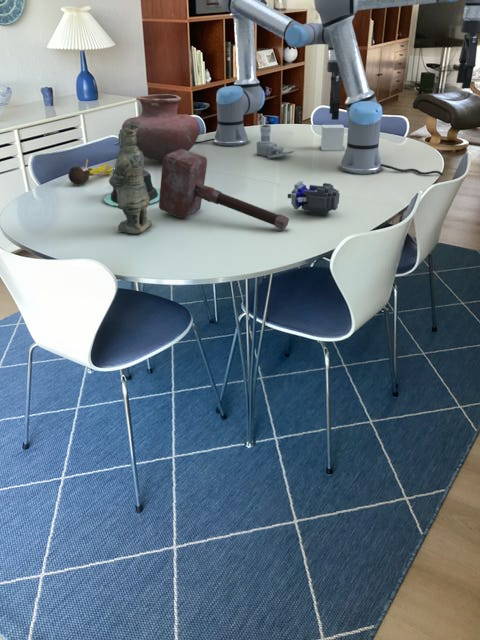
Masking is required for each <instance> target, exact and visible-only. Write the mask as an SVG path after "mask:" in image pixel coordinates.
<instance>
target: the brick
mask: <svg viewBox="0 0 480 640" xmlns="http://www.w3.org/2000/svg"><path fill="white" fill-rule="evenodd" d="M344 135H345V126H344V124H322V125H321V139H320V149H321V151H343V149H344Z"/></svg>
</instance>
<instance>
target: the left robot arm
mask: <svg viewBox="0 0 480 640" xmlns="http://www.w3.org/2000/svg"><path fill="white" fill-rule="evenodd" d="M216 1H217V3H218V5H219V6H220V7H221V8H223V9H224V10H226V11H227V12H229V15H230V17H232V19H233V25H234V26H233V28H234V45H235V47H234V48H235V62H236V63H235V64H236V80H235V81H234V82H233V85H229V86H224V87H221V88H219V89H218V90H217V91H216V99H215V100H216V102H215V103H216V119H217V120H216V121H217V127H216V131H215V134H214V138H209V139H206V140H201V141H196V142H195V144H203V143H208V142H211V141H213V142H214V144H215V145H217V146H220V147H238V146H244V145H246V144H247V143H248V138H249V137H248V134H247V131H246V129H245V125H244V116H247V115H249V114H254V113H257V112H258V111H260V110H261V109H262V108H263V106H264V104H265V101H266V96H265V91H264V89H263V88H262V86H261V83H260V81H259V79H258V78H257V69H256V67H257V66H256V64H257V63H256V43H255V42H256V41H255V39H256V38H255V24H256V25H258V26H259V27H261V28H263V29H265V30H267V31H268V32H271V33H273V34H274V35H275V36H278V37H279V38H281V39H283V40H285V42H286V44H287V45H288V46H289V47H291V48H297V49H298V48H302V47H308V46H314V45H327V47H328V48H327V61H328V62H327V65H326V71H327V72H328V73H331V76H330V93H329V94H330V98H329V99H330V100H329V101H330V102H329V114H330V115H331V120H332V121H333V120H334V121H337V120H339V115H340V102H341V85H342V84H341V83H342V77H341V74H340V70H339V67H338V63H337V59H336V56H335V52H334V49H333V45H332V42H331V38H330V35H329V32H328V31H326V30H325V29H323V26H322V22H321V23H320V22H319V23H318V22H317V23H316V22H309V23H304V24H302V23H300V22H298V21H297V20H294V19H293V18H291V17H289V16H287V15H285V14H284V13H282V12H280V11H278V10H277V9H275V8H273V7H271V6H269V5H267V4H265V3H264V2H262V0H216Z"/></svg>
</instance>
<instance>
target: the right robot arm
mask: <svg viewBox="0 0 480 640" xmlns="http://www.w3.org/2000/svg"><path fill="white" fill-rule="evenodd" d="M313 2H314V8H315V10H316V12H317V14H318V16H319V19H320V22H321V23H322V26H323V29H325V30H326V31H328V32H329V35H330V38H331V42H332V45H333V49H334V52H335V56H336V59H337V63H338V67H339V70H340V76H341V82H342V85H343V89H344V91H345V94H346V99H345V101H344V106H345V111H346V113H347V117H348V126H347V138H346V139H347V140H346V149H345V151H344V154H343V156H342V158H341V162H340V170H341V171H343V172H345V173H349V174H355V175H356V174H357V175H369V174H370V175H371V174H376V173H378V172H380V171H382V167H383V168H387V169H391V170H394V171H397V172H401V173H402V172H403V173H404V172H405V173H406V172H415V173H417V174H419V175H424V176H426V175H431V174H438V175H440V176H442V177H443V176H444V174H443V172H441V171H439V170H430V171H424V172H423V171H421V170H419V169H417V168H398V167H395V166H392V165H388V164H383V163H382V161H381V155H380V150H379V147H380V145H379V144H380V138H381V137H380V136H381V127H382V117H383V107H382V105H381V104H380V103H378V101H377V97H376V93H375V91H374V90H372V89H370V87H369V83H368V79H367V75H366V72H365V67H364V64H363V60H362V55H361V53H360V52H361V51H360V48H359V46H358V45H359V44H358V41H357V37H356V33H355V30H354V26H353V20H354V19H355V14H356V13H357V12H359V11H363V10H364V11H365V10H375V9H384V8H396V7H405V6H414V5H415V6H416V5H426V4H437V3H438V4H439V3H447V2H448V3H449V2H450V3H455V2H459V0H313ZM462 19H463V20H462V22H461V28H460V32H461V33H462V34H464V38H463V42H462V46H461V51H460V55H459V58H458V63H459V65H458V70H457V77H456V81H455V83H456V84H461V89H471V85H472V80H473V75H474V74H473V73H474V68H475V67H476V65H477V64H476V63H477V61H476V60H477V53H478V42H479V36H477V34H480V0H465V3H464V8H463V15H462Z"/></svg>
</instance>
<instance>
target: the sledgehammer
mask: <svg viewBox="0 0 480 640" xmlns="http://www.w3.org/2000/svg"><path fill="white" fill-rule="evenodd" d="M207 164H208V159H207V158H206V157H205V156H203V155H200V154H197V153H195V152H193V151H190V150H189V151H187V150H184V149H179V150H177V151H174V152H172V153H170V154H167V155H165V156H164V158H163V162H162V167H161V176H160V187H159V190H160V198H159V200H158V208H159V210H160V211H162V212H165V213H168V214H170V215H173V216H174V217H177V218H180V219H182V220H185V219H187V218H188V217H190V216H192V215H193V214H195V213H197V212H198V211H199V210H200V209H201V207H202V201H203V200H204V201H207V202H209V203H213V204H215V205H220V206H223V207H225V208H228V209H231V210H233V211H236V212H239V213H241V214H243V215H245V216H248V217H252V218H255V219H257V220H260V221H262V222H264V223H267V224H270V225H273V226H274V228H276V229H280V230H282V231H285V230H286V228H287V227H288V224H289V221H290V218H289V217H288V216H286V215H283V214H281V213H279V214H277V213H275V212H273V211H269V210H267V209H265V208H262V207H259V206H256V205H254V204H251V203H248V202H246V201H244V200H242V199H238V198H236V197H233V196H231V195H228V194H225V193H223V192H222V191H220V190H218V189H215V188H214V187H211V186H208V185H205V181H206V175H207Z"/></svg>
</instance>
